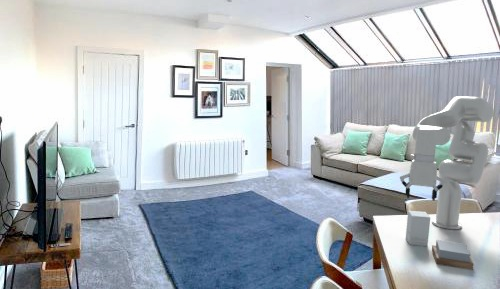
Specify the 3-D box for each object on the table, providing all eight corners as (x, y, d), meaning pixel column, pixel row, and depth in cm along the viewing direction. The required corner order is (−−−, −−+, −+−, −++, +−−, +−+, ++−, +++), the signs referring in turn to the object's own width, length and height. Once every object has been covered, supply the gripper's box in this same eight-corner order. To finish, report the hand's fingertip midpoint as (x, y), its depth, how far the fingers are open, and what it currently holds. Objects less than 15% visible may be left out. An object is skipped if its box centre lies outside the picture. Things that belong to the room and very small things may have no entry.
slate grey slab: (435, 246, 146) (436, 239, 145) (464, 251, 142) (465, 243, 142) (438, 257, 136) (439, 249, 136) (469, 262, 133) (470, 254, 133)
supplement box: (428, 246, 151) (430, 217, 149) (409, 244, 153) (411, 215, 151) (423, 239, 158) (426, 211, 156) (405, 237, 160) (407, 210, 158)
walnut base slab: (431, 252, 148) (432, 245, 147) (465, 257, 144) (466, 249, 143) (436, 265, 136) (437, 258, 136) (472, 271, 133) (473, 263, 132)
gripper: (402, 158, 149) (398, 198, 152) (449, 161, 144) (445, 203, 146) (400, 155, 156) (397, 193, 159) (446, 158, 151) (441, 198, 153)
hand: (420, 198), depth 152 cm, fingers open, 9 cm apart
